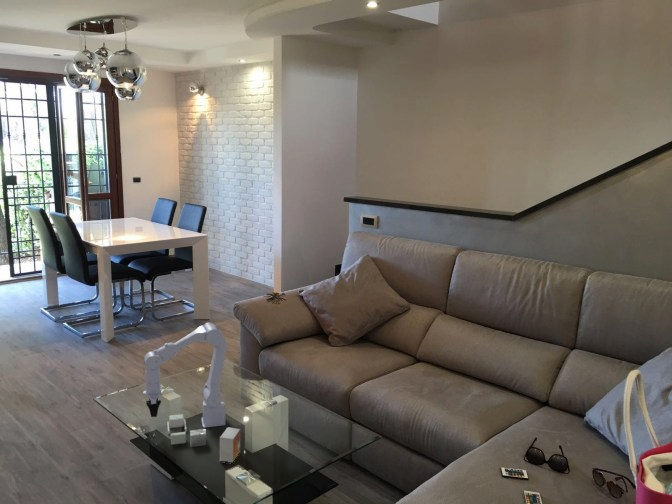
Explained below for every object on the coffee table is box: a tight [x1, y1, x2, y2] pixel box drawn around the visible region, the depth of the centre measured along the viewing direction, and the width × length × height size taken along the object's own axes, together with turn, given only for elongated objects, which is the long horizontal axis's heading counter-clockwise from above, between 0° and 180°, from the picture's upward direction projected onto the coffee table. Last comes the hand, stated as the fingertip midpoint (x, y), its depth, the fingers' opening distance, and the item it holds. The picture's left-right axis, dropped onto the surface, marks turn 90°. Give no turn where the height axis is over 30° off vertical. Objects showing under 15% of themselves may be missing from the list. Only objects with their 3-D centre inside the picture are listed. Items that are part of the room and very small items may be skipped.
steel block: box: [189, 428, 207, 448], centre depth 226 cm, size 4×6×5 cm, turn 109°
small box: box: [219, 426, 242, 462], centre depth 217 cm, size 8×6×10 cm
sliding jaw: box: [168, 413, 184, 429], centre depth 238 cm, size 6×4×4 cm, turn 109°
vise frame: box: [166, 419, 188, 446], centre depth 233 cm, size 7×16×4 cm, turn 19°
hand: (153, 411), depth 230 cm, fingers open, 7 cm apart
